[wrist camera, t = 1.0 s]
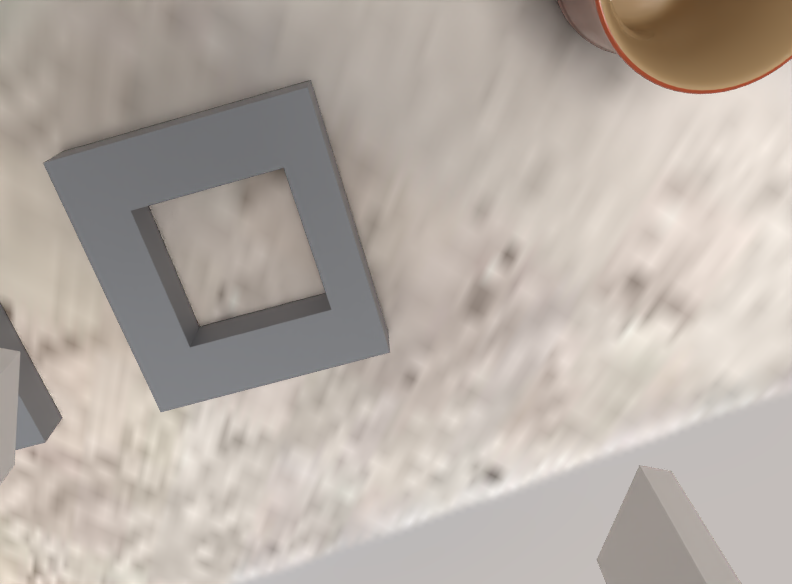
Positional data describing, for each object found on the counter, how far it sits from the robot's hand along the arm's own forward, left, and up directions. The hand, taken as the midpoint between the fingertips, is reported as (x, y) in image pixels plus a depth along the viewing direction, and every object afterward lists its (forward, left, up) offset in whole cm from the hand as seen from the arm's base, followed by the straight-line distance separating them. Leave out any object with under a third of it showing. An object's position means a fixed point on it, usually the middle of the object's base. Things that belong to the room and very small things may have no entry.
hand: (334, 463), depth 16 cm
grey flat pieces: (+2, -11, -24) cm, 26 cm away
